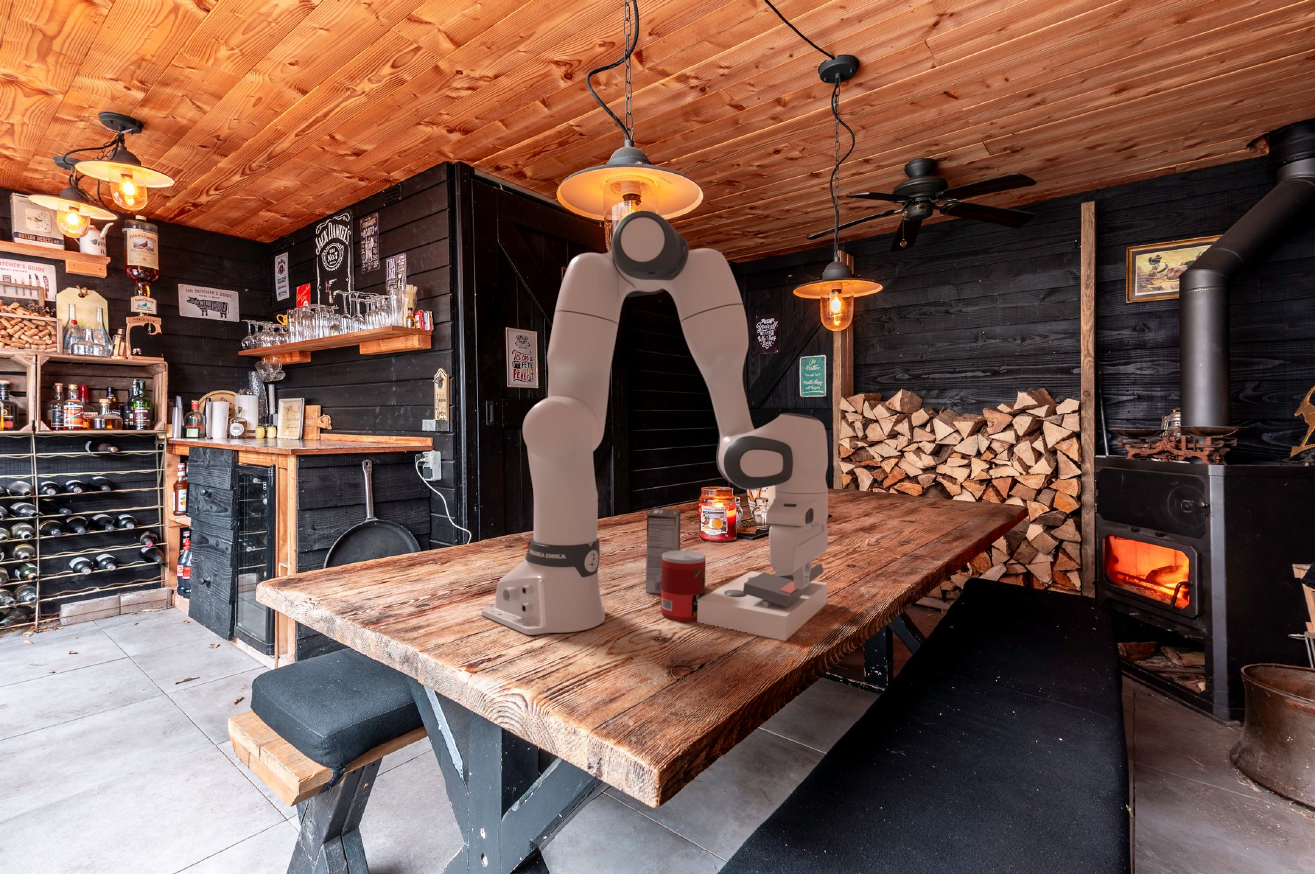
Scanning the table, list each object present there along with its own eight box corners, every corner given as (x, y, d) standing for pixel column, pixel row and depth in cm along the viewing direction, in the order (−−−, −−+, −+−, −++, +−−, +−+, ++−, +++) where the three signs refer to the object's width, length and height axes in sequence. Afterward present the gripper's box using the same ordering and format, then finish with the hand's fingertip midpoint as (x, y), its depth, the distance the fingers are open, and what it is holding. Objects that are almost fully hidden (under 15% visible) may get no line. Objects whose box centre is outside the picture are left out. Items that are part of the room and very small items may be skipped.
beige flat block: (697, 622, 106) (697, 593, 106) (750, 590, 127) (751, 566, 127) (785, 641, 98) (785, 610, 98) (826, 603, 119) (827, 578, 118)
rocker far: (768, 587, 114) (766, 576, 114) (784, 576, 121) (782, 567, 122) (809, 582, 110) (806, 572, 110) (823, 572, 117) (821, 562, 117)
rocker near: (742, 593, 104) (744, 582, 104) (762, 581, 112) (763, 571, 112) (787, 606, 100) (788, 595, 100) (804, 593, 108) (805, 583, 108)
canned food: (701, 623, 106) (702, 561, 105) (656, 619, 107) (657, 558, 107) (706, 610, 113) (708, 551, 113) (664, 606, 115) (665, 549, 114)
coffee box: (651, 581, 132) (652, 507, 132) (680, 582, 132) (681, 508, 131) (644, 593, 123) (645, 514, 123) (675, 594, 123) (677, 515, 122)
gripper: (802, 499, 115) (803, 571, 115) (762, 514, 97) (762, 599, 98) (836, 501, 111) (836, 575, 112) (800, 517, 94) (800, 605, 95)
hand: (801, 587), depth 105 cm, fingers closed, pressing on rocker near
